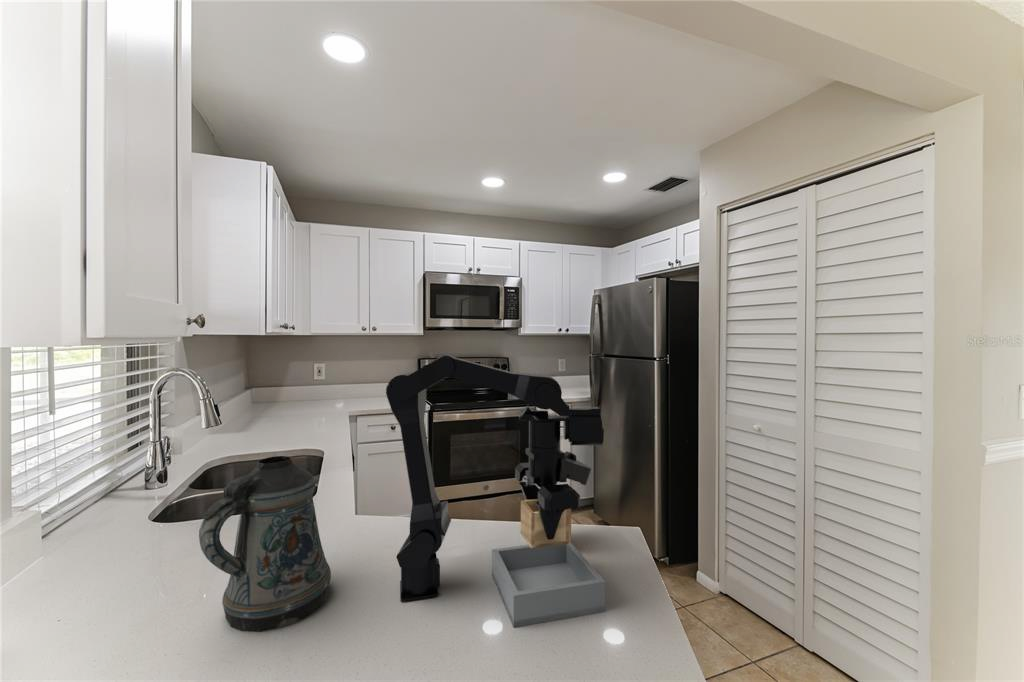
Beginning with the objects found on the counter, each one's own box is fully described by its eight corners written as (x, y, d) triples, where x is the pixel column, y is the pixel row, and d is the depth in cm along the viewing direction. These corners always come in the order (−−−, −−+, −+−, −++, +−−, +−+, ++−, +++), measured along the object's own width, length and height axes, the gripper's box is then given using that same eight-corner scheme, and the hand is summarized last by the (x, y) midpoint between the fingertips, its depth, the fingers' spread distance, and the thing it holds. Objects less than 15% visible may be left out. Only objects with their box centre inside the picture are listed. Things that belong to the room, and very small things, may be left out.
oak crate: (531, 548, 74) (531, 513, 74) (520, 532, 80) (520, 500, 80) (569, 543, 76) (569, 509, 76) (556, 528, 82) (556, 497, 82)
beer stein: (345, 577, 83) (346, 447, 83) (291, 648, 63) (292, 478, 64) (261, 576, 83) (261, 446, 84) (181, 646, 64) (182, 477, 64)
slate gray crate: (513, 627, 68) (513, 595, 68) (491, 575, 84) (491, 549, 84) (605, 611, 72) (605, 581, 72) (568, 564, 88) (568, 539, 88)
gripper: (609, 454, 71) (609, 549, 71) (566, 432, 89) (566, 508, 89) (545, 459, 68) (545, 557, 68) (514, 435, 87) (514, 513, 86)
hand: (544, 531), depth 78 cm, fingers closed on oak crate, 6 cm apart
